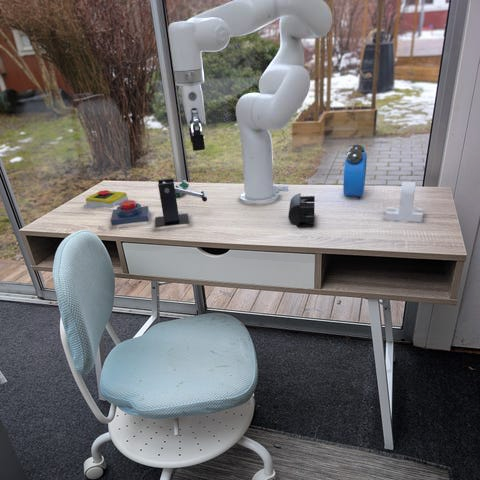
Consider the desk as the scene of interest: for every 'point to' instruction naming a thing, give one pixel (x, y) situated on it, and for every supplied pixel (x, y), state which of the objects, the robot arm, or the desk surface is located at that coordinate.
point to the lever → (191, 193)
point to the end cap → (302, 211)
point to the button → (128, 205)
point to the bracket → (169, 205)
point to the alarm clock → (355, 171)
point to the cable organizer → (405, 206)
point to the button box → (130, 215)
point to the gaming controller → (182, 187)
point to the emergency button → (105, 199)
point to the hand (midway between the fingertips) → (197, 145)
